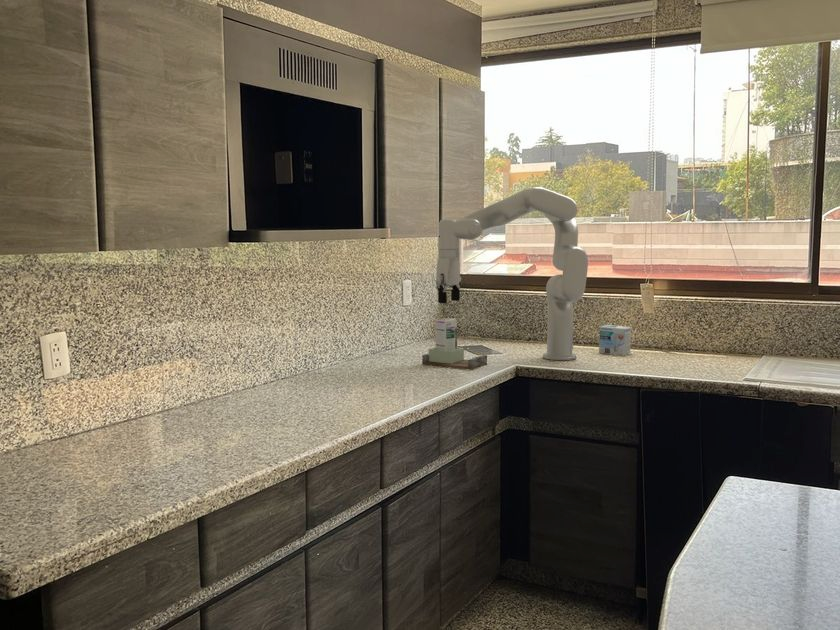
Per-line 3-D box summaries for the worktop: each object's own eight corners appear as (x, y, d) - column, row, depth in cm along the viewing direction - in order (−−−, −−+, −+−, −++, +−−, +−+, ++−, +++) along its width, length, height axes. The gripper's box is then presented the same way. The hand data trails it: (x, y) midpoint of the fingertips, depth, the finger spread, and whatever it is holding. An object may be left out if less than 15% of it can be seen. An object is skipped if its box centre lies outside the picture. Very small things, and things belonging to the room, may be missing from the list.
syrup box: (445, 360, 275) (445, 320, 273) (434, 357, 279) (434, 318, 277) (457, 358, 278) (457, 318, 276) (446, 356, 283) (446, 317, 281)
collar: (441, 357, 285) (441, 345, 284) (463, 359, 280) (463, 347, 280) (428, 361, 277) (428, 349, 276) (451, 363, 272) (451, 351, 271)
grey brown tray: (438, 359, 287) (438, 350, 287) (486, 364, 277) (486, 355, 276) (422, 364, 277) (422, 355, 276) (471, 370, 267) (472, 360, 266)
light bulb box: (598, 353, 302) (599, 326, 301) (604, 351, 307) (605, 324, 306) (624, 356, 296) (625, 328, 295) (630, 353, 301) (631, 326, 300)
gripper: (451, 253, 284) (451, 299, 286) (427, 255, 269) (428, 303, 271) (469, 253, 280) (469, 300, 282) (446, 255, 265) (446, 304, 267)
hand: (449, 301), depth 276 cm, fingers open, 9 cm apart
